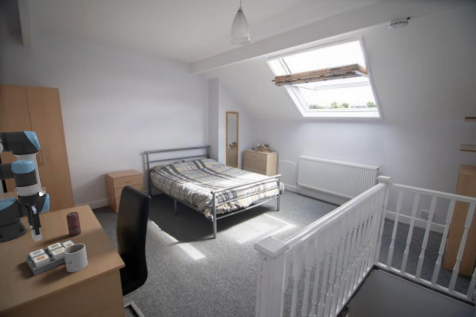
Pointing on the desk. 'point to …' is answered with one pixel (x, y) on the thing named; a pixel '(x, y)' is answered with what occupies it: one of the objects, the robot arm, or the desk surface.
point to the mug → (75, 257)
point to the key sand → (58, 253)
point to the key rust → (41, 260)
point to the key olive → (54, 247)
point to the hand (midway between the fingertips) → (37, 238)
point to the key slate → (36, 254)
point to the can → (73, 224)
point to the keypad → (53, 262)
